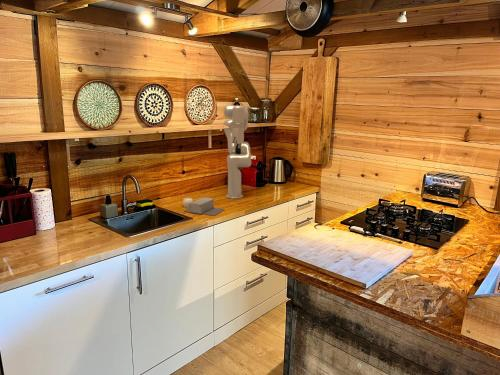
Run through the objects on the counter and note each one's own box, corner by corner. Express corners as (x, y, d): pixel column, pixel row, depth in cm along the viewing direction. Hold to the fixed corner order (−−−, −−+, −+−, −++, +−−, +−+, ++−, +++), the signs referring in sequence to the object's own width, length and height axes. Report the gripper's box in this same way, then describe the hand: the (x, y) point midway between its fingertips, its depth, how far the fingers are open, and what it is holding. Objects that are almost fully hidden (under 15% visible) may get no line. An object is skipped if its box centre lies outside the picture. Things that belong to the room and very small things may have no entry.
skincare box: (203, 206, 254) (189, 213, 240) (203, 195, 252) (189, 202, 239) (214, 208, 250) (201, 215, 237) (214, 197, 248) (200, 204, 235)
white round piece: (186, 204, 259) (186, 197, 258) (194, 205, 257) (194, 198, 256) (181, 206, 254) (181, 199, 252) (189, 207, 252) (189, 200, 250)
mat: (195, 205, 256) (195, 205, 256) (225, 209, 248) (225, 209, 248) (183, 211, 243) (183, 211, 242) (214, 216, 235) (214, 215, 235)
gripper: (237, 124, 254) (237, 152, 258) (228, 126, 240) (228, 155, 244) (248, 125, 251) (247, 153, 255) (239, 126, 237) (238, 156, 241)
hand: (238, 154), depth 250 cm, fingers closed
